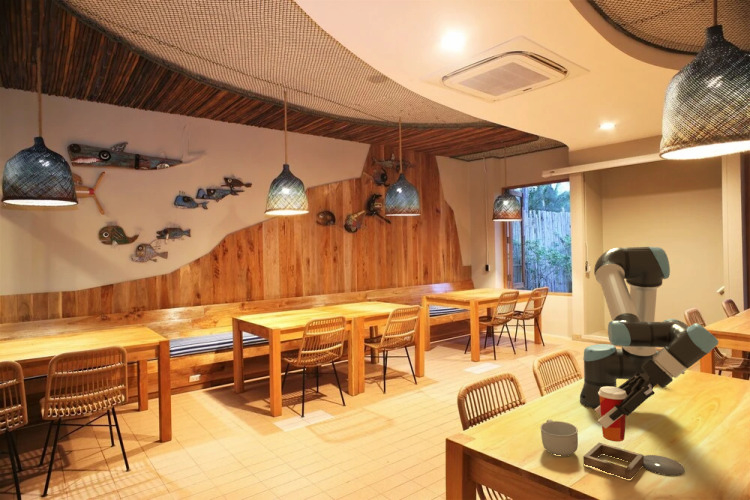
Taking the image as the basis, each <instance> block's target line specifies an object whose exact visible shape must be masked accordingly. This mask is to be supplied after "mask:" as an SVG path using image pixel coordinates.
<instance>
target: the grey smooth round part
mask: <svg viewBox="0 0 750 500" xmlns="http://www.w3.org/2000/svg"><path fill="white" fill-rule="evenodd" d="M642 468H644V469H645V468H646V469H645V470H647V469H648V471H649V470H650V472H652V471H653V472H652V473H655V472H656V473H655V474H658V473H660V474H659V475H662V474H665V475H664V476H670V475H676V476H679V475H678V474H681V473H683V472H685V466H684V465H683V464H682V463H681V462H679V461H677V460H676V459H673V458H670V457H667V456H662V455H656V454H655V455H653V454H646V455H644V463H643V467H642ZM683 474H684V473H683ZM681 475H682V474H681Z"/></svg>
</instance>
